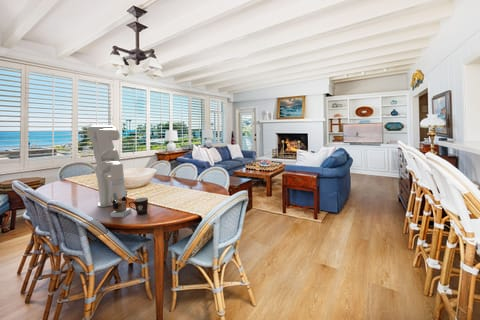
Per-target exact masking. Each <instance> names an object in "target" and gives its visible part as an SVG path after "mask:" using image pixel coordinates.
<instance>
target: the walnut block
mask: <svg viewBox="0 0 480 320" xmlns="http://www.w3.org/2000/svg"><path fill="white" fill-rule="evenodd" d="M117 203H118V209H114V211H115V212H123V211H125V210H126V208H127V204H126V201H122V200H118V202H117Z"/></svg>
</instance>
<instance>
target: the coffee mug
mask: <svg viewBox="0 0 480 320" xmlns="http://www.w3.org/2000/svg"><path fill="white" fill-rule="evenodd" d="M131 203H133V205H134V206H135V208H134V207H132V206H131ZM128 207H130V208H131V210H132V209H133V210H134V211H135V212H136V215H137V216H145V215H148V207H149V198H148V197H137V198H135V199H134V200H133V201H130V202H129V203H128Z"/></svg>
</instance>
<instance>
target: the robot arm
mask: <svg viewBox="0 0 480 320" xmlns="http://www.w3.org/2000/svg"><path fill="white" fill-rule="evenodd" d="M120 134H121V133H120V131H119V130H118V128H117V127H115V126H113V125H111V124H110V125H107V124H106V125H90V126H88V127H87V128H86V135H87V137H88V140H89V141H90V143H91V145H92V149H93V156H94V159H95V164H96V165H95V167H94V172H95V177H96V181H97V187H98V197H99V202H98V204H97V207H99V208H106V207H111V206H112V209H113V210H115V209H118V203H117V202H118V201H120V200H121V201H126V205H127V204H128V201H127V198H128V190H127V189H126V185H125V177H124V175H125V174H124V165H123V163H122V162H121V159H120V155H119V151H118V150H117V149H116V148H115V146H114V145H115V144H114V142H113V141H118V140H120V138H121V135H120ZM109 176H110V177H109Z"/></svg>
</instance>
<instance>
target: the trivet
mask: <svg viewBox="0 0 480 320" xmlns="http://www.w3.org/2000/svg"><path fill="white" fill-rule="evenodd" d="M131 213H132V208H131V207H130V208H127V207H126V210H125V211H123V212H115V210H113V211H112V212H110V213H109V214H110V218H124V217H126V216H128V215H129V214H131Z"/></svg>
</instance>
